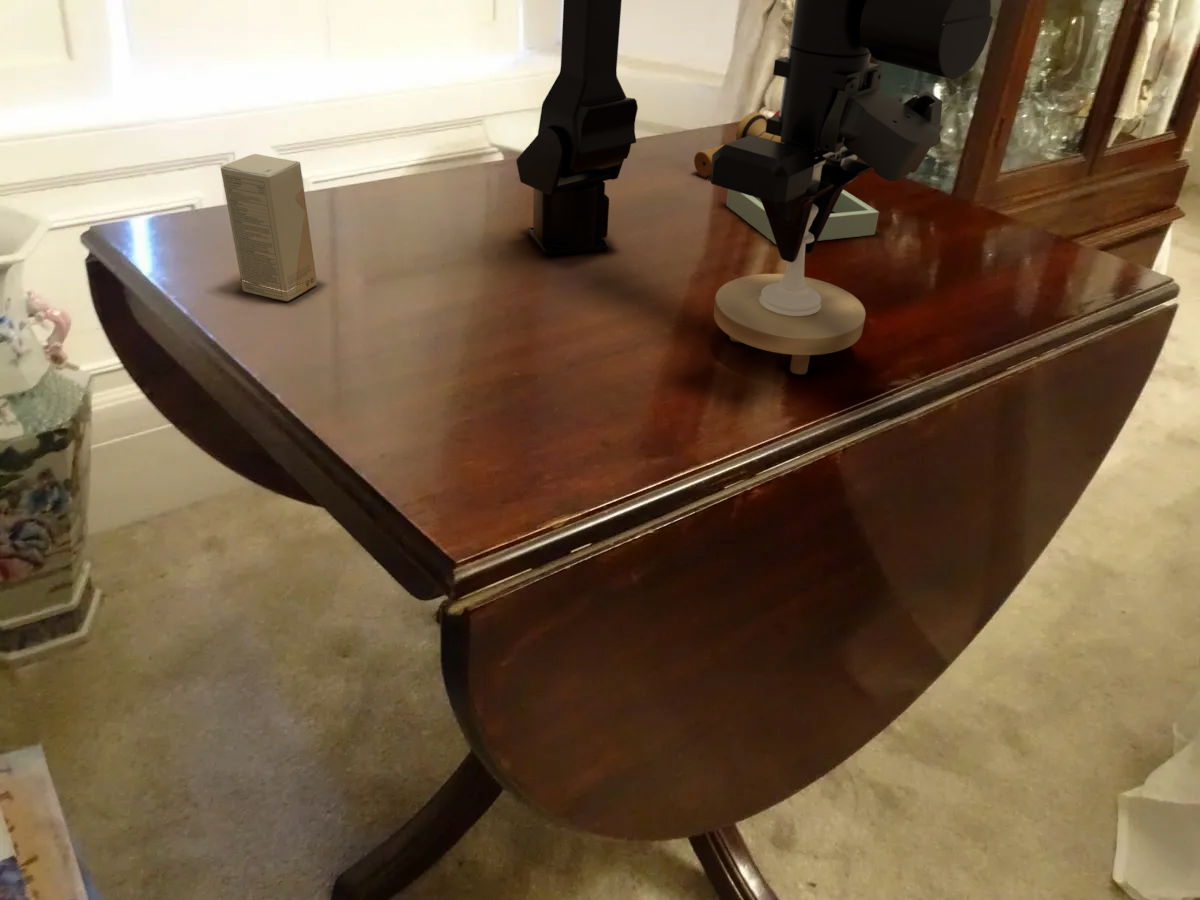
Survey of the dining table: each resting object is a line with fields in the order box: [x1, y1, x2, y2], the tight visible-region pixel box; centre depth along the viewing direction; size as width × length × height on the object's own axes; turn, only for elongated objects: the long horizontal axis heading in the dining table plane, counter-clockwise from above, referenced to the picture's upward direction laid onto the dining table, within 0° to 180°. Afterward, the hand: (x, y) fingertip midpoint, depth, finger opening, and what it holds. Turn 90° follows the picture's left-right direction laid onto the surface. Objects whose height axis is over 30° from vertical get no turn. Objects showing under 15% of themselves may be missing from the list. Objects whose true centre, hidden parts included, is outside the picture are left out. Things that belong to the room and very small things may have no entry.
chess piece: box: [759, 204, 821, 316], centre depth 80 cm, size 5×5×10 cm
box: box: [220, 153, 318, 302], centre depth 88 cm, size 5×4×11 cm
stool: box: [713, 273, 867, 375], centre depth 84 cm, size 12×12×4 cm
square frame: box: [725, 189, 880, 246], centre depth 110 cm, size 12×12×2 cm
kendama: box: [693, 109, 783, 178], centre depth 124 cm, size 8×6×18 cm
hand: (796, 256), depth 81 cm, fingers closed on chess piece, 2 cm apart
